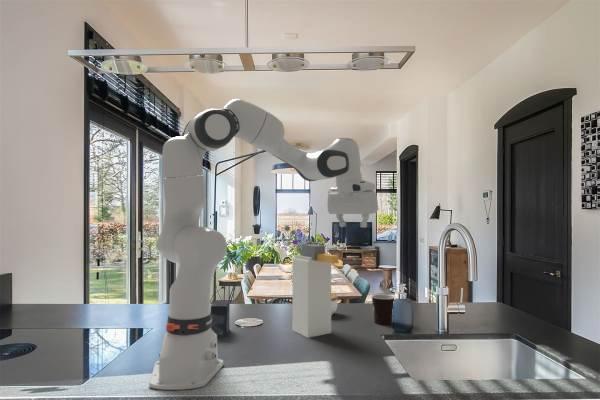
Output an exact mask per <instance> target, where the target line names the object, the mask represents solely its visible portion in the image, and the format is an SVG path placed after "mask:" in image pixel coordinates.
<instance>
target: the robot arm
mask: <svg viewBox="0 0 600 400" xmlns="http://www.w3.org/2000/svg"><path fill="white" fill-rule="evenodd" d="M284 137H285V127H284V124H283V122H282V121H281V120H279V118H278V117H277V116H275V115H274V114H272V113H271V112H269V111H267V110H265V109H264V108H262V107H260V106H258V105H256V104H254V103H251V102H249V101H246V100H242V99H240V98H234V99H232V100H230V101H228V102H227V103H226V104H225V106H223V108H209V109H205V110H204V111H202V112H199V113H197V114H195V115H194V116H193V117H191V119H190V120H189V121H188V123H187V124H186V125H185V128H184V129H183V132H182V134H181V136H175V137H171V138H169V139H168V140H166V141H165V142H164V144H163V146H162V151H161V152H162V155H161V175H162V183H163V184H162V185H163V196H164V217H163V225H162V228H161V229H162V230H161V232H160V234H159V235H158V238H157V240H156V248H157V251H158V253H159V254H160V256H161V257H163V258H164V259H166V260H167V261H169V262H172V263H173V264H174V263H175V264H179V267H178V272H177V275H176V278H175V280H174V282H173V283H172V284H171V286H170V288H169V308H168V309H169V315H167V321H166V326H165V327H166V328H165V330H166V333H165V334H163V341H162V346H161V350H160V352H159V353H158V355H159V356H158V357H159V360H157V361H155V363H154V366H153V370H152V373H151V376H150V379H149V384H148V386H149V388H151V389H155V390H162V391H163V390H167V391H175V390H177V391H178V390H179V391H180V390H189V389H190V390H191V389H198V388H202V387H204V386H206V385H208V383H210V381H211V379H212V378H214V377H215V375H216V374H217V373H218V372H219V371H220V370H221V369H222V367H223V366H224V360H223V359H221V358H218V356H219V355H218V353H219V352H218V336H217V334H215V333H214V332H213V330H212V329H211V326H212V314H211V293H212V292H211V291H212V283H213V278H214V275H215V272H216V269H217V267H218V266H219V264H220V263H222V261H223V260H224V259H225V257H226V255H227V251H228V243H227V240H226V238H225V236H224V234H223V233H221V232H220V231H218V230H216V229H214V228H211V227H208V226H200V217H201V213H202V210H203V208H204V207H205V206H206V203H207V197H206V196H207V195H206V184H205V177H204V176H205V175H204V169H203V167H204V166H203V160H204V156H205V154H206V153H208V152H213V151H216V150H219V149H221V148H223V147H225V146H226V145H228V144H229V143H230V142H231V141H232V140H233V138H238V139H241V140H242V141H244V142H246V143H248V144H249V145H251V146H253V147H256V148H257V149H260V150H262V151H265V152H266V153H268V154H270V155H271V156H273V157H275V158H276V159H279V160H280V161H282V162H284V164H287V165H288V166H290V167H291V168H293V169H294V170H295V171H296V173H297V174H298V175H299V176H300V178H302V179H303V180H305V181H307V182H316V181H320V180H327V179H328V180H329V179H333V178H335V183H336V184H335V185H336V187H330V189H329V190H328V191H327V202H326V203H327V207H326V208H327V212H328V214H329V215H335V217H336V219H337V222H339V227H341V228H344V227H345V228H346V226H347V221H346V220H344V218H343V217H344V215H361V218H362V220H361V221H360V222H359V226H360V228H365V229H366V228H367V227H368V220H369V218H370V215H371V214H372V215H373V214H376V213H377V212H378V211H379V202H378V201H379V200H378V197H377V193H376V191H374V190H376V184H375V183H373V182H370V181H367V180H364V179H363V177H362V172H361V164H362V163H361V161H362V160H361V154H360V147H359V145H358V142H357V141H356V140H354V139H353V138H349V137H345V138H344V137H342V138H337V139H334V141H333V142H332V143H331V144H330V145H328V146H327V147H324V148H323V149H320V150H317V151H310V152H308V151H303V150H301V149H299V148H298V147H296V146H294V145H293V144H292V143H290V142H288V141H287V140H286V139H285V138H284Z"/></svg>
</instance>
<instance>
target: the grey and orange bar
mask: <svg viewBox="0 0 600 400" xmlns="http://www.w3.org/2000/svg"><path fill="white" fill-rule="evenodd" d="M301 256H306V257H312V260H313V261H321V262H327V263H331V265H332V264H339V255H335V254H330V253H329V254H328V253H326V246H325V245H321V244H313V243H312V244H311V243H309V244H302V245H301Z"/></svg>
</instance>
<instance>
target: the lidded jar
mask: <svg viewBox="0 0 600 400" xmlns="http://www.w3.org/2000/svg"><path fill="white" fill-rule="evenodd" d="M338 300H339V296H338V295H337V294H334V293H331V317H332V316H333V314H334V313H335V312H336V310H337V309H338V303H339V302H338Z"/></svg>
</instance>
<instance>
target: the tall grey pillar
mask: <svg viewBox="0 0 600 400" xmlns="http://www.w3.org/2000/svg"><path fill="white" fill-rule="evenodd" d="M331 294H332V263H327V262H321V261H313V260H312V257H306V256H302V255H299V254H294V258H292V299H291V300H292V304H291V305H292V306H291V307H292V309H291V311H292V322H291V323H292V325H291V327H292V332H295V333H296V334H297V333H298V334H300V335H301V336H303V337H306V338H308V339H309V338H313V337H318V336H323V335H327V334H332V316H331Z"/></svg>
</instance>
